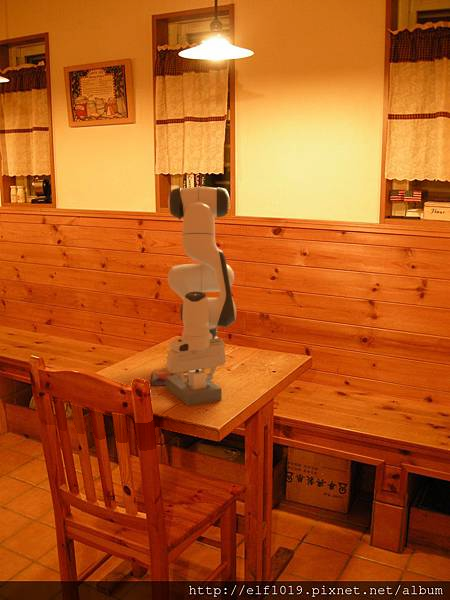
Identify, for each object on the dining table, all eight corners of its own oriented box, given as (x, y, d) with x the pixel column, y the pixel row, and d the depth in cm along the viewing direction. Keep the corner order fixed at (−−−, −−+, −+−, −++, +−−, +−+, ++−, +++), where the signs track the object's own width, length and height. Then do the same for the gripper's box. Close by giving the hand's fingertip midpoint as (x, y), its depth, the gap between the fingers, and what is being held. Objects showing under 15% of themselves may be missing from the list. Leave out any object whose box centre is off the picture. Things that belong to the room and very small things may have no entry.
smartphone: (150, 388, 220) (150, 385, 220) (152, 373, 235) (152, 370, 234) (171, 387, 220) (171, 384, 220) (172, 372, 235) (172, 370, 235)
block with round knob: (189, 396, 210) (188, 367, 208) (200, 394, 212) (200, 365, 210) (194, 400, 206) (193, 371, 204) (206, 398, 208) (205, 369, 206)
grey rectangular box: (165, 387, 219) (165, 374, 218) (196, 381, 224) (196, 369, 223) (188, 406, 201) (188, 392, 200) (221, 399, 207) (221, 386, 206)
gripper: (220, 335, 212) (220, 373, 215) (164, 343, 203) (165, 383, 206) (228, 339, 207) (229, 379, 210) (171, 348, 198) (172, 389, 201)
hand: (197, 381), depth 208 cm, fingers open, 8 cm apart
